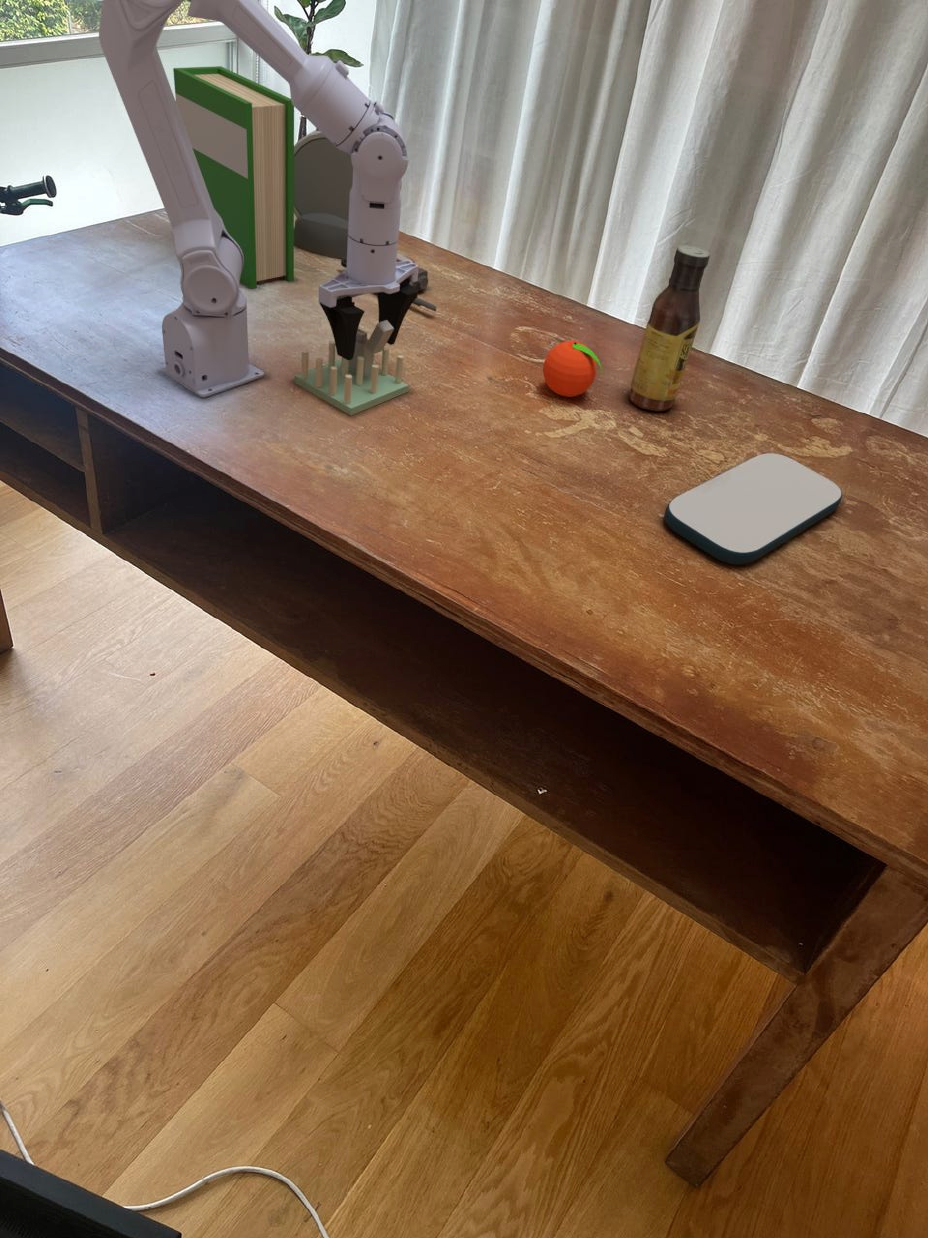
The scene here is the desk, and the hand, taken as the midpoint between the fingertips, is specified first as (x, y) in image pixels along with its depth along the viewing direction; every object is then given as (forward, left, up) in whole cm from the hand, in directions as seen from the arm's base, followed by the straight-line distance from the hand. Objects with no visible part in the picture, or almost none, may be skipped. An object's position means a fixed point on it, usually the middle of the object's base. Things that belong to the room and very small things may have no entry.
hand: (366, 348), depth 110 cm
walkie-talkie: (+25, +18, -5) cm, 31 cm away
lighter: (0, 0, -4) cm, 4 cm away
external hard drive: (+15, -48, -5) cm, 50 cm away
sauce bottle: (+28, -26, -5) cm, 38 cm away
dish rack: (-2, 0, -4) cm, 5 cm away
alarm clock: (+29, +36, -5) cm, 46 cm away
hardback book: (+11, +38, -5) cm, 40 cm away
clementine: (+20, -18, -5) cm, 27 cm away
